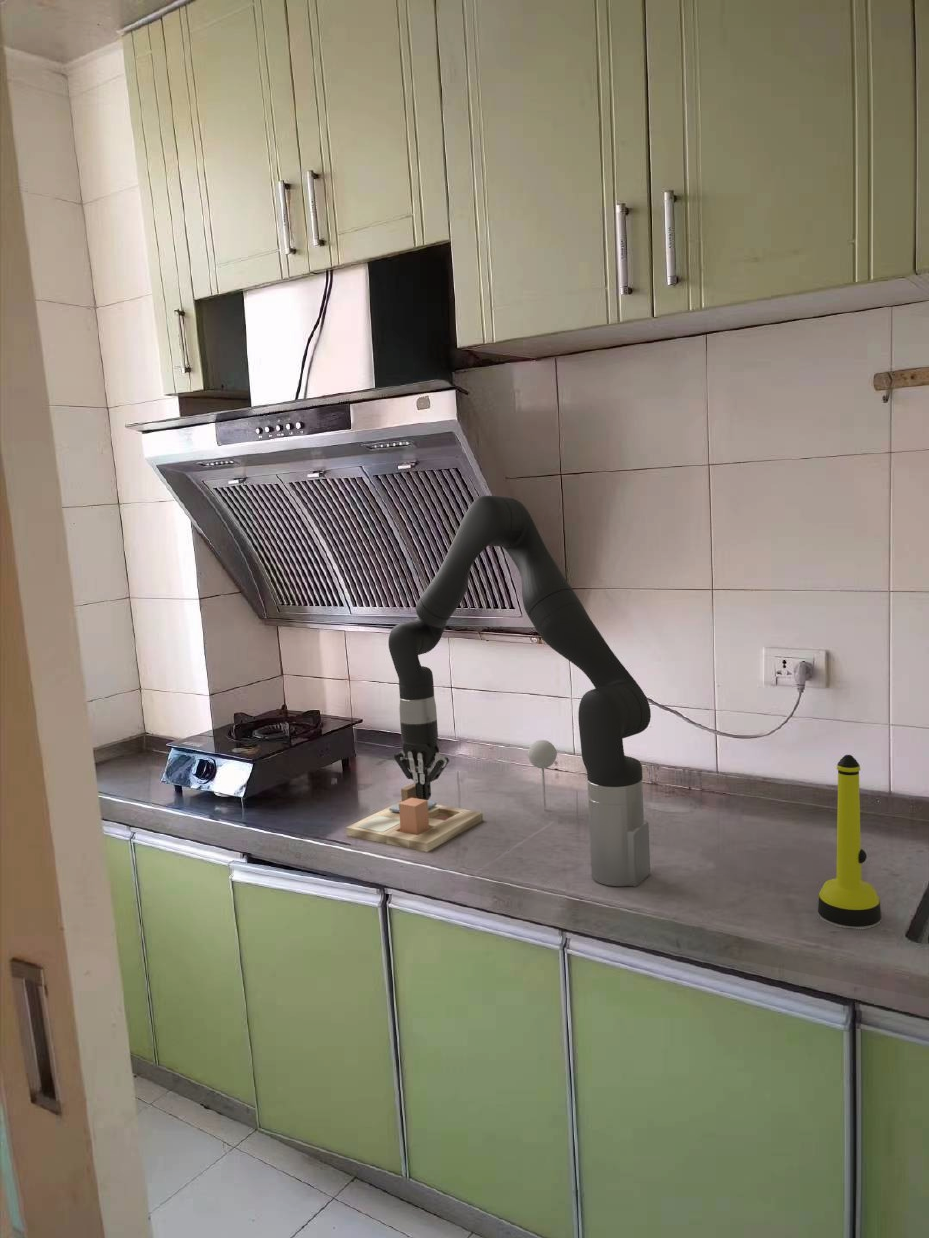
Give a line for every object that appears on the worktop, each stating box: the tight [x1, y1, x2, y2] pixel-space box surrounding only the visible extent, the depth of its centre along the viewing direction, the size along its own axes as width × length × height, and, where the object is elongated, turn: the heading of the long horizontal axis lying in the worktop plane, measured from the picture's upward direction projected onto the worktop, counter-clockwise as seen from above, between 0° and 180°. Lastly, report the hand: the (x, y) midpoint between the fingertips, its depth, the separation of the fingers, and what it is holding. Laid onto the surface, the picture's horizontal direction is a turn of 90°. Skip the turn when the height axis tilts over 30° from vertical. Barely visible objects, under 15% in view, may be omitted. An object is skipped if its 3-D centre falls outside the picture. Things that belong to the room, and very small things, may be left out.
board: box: [345, 800, 484, 853], centre depth 189 cm, size 20×19×2 cm
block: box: [399, 798, 429, 835], centre depth 184 cm, size 4×4×7 cm
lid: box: [389, 782, 437, 812], centre depth 195 cm, size 7×7×5 cm
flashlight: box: [817, 754, 882, 930], centre depth 140 cm, size 25×9×9 cm
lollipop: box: [527, 739, 558, 811], centre depth 195 cm, size 6×6×15 cm
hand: (423, 799), depth 194 cm, fingers closed
